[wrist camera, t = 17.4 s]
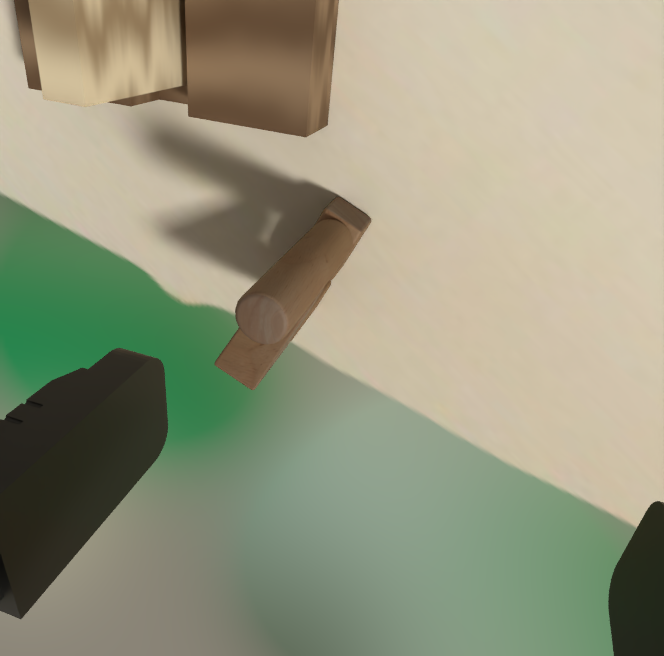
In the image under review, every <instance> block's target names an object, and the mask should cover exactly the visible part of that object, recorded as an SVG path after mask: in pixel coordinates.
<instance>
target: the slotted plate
mask: <svg viewBox="0 0 664 656" xmlns="http://www.w3.org/2000/svg"><path fill="white" fill-rule="evenodd" d="M14 3H15V9H16V15H17V21H18V27H19V33H20V39H21V45H22V51H23V57H24V63H25V69H26V75H27V81H28V87H29V88H30V89H36V90H42V87H41V80H40V74H39V67H38V61H37V54H36V48H35V41H34V35H33V28H32V22H31V15H30V9H29V2H28V0H14ZM338 3H339V0H185V21H186V54H187V85H184V86H179V87H174V88H170V89H165V90H161V91H156V92H151V93H147V94H142V95H138V96H133V97H129V98H124V99H119V100H115V101H110V103H115V104H121V105H127V106H134V105H138V104H142V103H146V102H151V101H155V100H159V99H160V100H166V101H172V102H178V103H183V104H188V116H189V117H194V118H200V119H206V120H211V121H217V122H223V123H228V124H234V125H240V126H245V127H251V128H257V129H262V130H268V131H274V132H279V133H285V134H291V135H296V136H302V137H307V136H309V135H311V134H313V133H315V132H316V131H318V130H320V129H322V128H324V127H325V126H327V125H328V114H329V102H330V91H331V80H332V69H333V58H334V47H335V36H336V25H337V14H338Z"/></svg>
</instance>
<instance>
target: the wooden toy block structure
mask: <svg viewBox="0 0 664 656" xmlns="http://www.w3.org/2000/svg"><path fill="white" fill-rule="evenodd" d="M370 223H371V218H370V217H368V216H367V215H366V214H364V213H363V212H361V211H360V210H358V209H357V208H355V207H354V206H352V205H351V204H349V203H348V202H346V201H345V200H343V199H342V198H340V197H337V198H335V199H334V200H333V201H332V202H331V203H330V204H329V205H328V206H327V207H326V208H324V210H323V212H322V214H321V215H320V217H319V219H318V220H317V222H316V224H315V226H314V227H313V228H312V229H311V230H310V231H309V232H308V233H307V234H305V235H304V236H303V237H302V238H301V239H300V240H299V241H298V242H297V243H296V244H295V245H294V246H293V247H292V248H291V249H290V250H289V251H288V252H287V253H286V254H285V255H284V256H283V257H282V258H281V259H280V260H279V261H278V262H277V263H276V264H275V265H274V266H273V267H272V268H270V269H269V270H268V271H267V272H266V273H265V274H264V275H263V276H262V277H261V278H260V279H259V280H258V281H257V282H256V283H255V284H254V285H253V286H252V287H251V288H250V289H249V290H248V291H247V292H246V293H245V294H244V295H243V296H242V297H241V298H240V299H239V301H238V303H237V306H236V310H235V313H236V321H237V323H238V326H239V329H238V330H237V332H236V333H235V334H234V336H233V337H232V338H231V340H230V342H229V343H228V344H227V346H226V347H225V348H224V350H223V351H222V353H221V354H220V356H219V357H218V358H217V360H216V361H215V365H216V366H217V367H218V368H220V369H221V370H223V371H224V372H226V373H227V374H229V375H230V376H232V377H233V378H235V379H236V380H238V381H239V382H241V383H242V384H244V385H245V386H247V387H249V388H250V389H251V390H254V389H255V388H256V387H257V386H258V384H259V383H260V382H261V380H262V379H263V378H264V376H265V375H266V374H267V372H268V371H269V370H270V368H271V367H272V366H273V364H274V363H275V362H276V360H277V359H278V358H279V356H280V355H281V353H282V352H283V351H284V349H285V348H286V347H287V346H288V344H289V343H290V341H292V339H293V338H294V336H295V335H296V334H297V332H298V331H299V330H300V328H301V327H302V326H303V324H304V323H305V322H306V320H307V319H308V318H309V316H310V315H311V314H312V312H313V311H314V310H315V308H316V307H317V305H318V304H319V302H320V301H321V299H322V298H323V296H324V294H325V293H326V291H327V290H328V288H329V287H330V285H331V280H332V279H333V278H334V277H335V276H336V274H337V273H338V272H339V270H340V269H341V268H342V266H343V265H344V263H345V262H346V260H347V259H348V257H349V256H350V254H351V252H352V251H353V249H354V248H355V246H356V245H357V243H358V242H359V240H360V239H361V237H362V235H363V234H364V232H365V231H366V229H367V228H368V226H369V225H370Z"/></svg>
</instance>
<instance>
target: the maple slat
mask: <svg viewBox="0 0 664 656" xmlns="http://www.w3.org/2000/svg"><path fill="white" fill-rule="evenodd" d="M28 2H29V9H30V15H31V22H32V28H33V35H34V41H35V48H36V54H37V61H38V67H39V74H40V80H41V87H42V93H43V99H45V100H50V101H56V102H61V103H67V104H72V105H78V106H83V107H87V106H92V105H97V104H101V103H106V102H110V101H115V100H119V99H124V98H129V97H133V96H138V95H142V94H147V93H151V92H156V91H161V90H165V89H170V88H174V87H179V86H184V85H187V54H186V21H185V0H28Z"/></svg>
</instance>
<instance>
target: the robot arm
mask: <svg viewBox="0 0 664 656" xmlns="http://www.w3.org/2000/svg"><path fill="white" fill-rule="evenodd" d="M167 432H168V418H167V403H166V389H165V373H164V367H163V363H162V362H161V360H159V359H158V358H153V357H151V356H147V355H143V354H140V353H136V352H133V351H129V350H126V349H122V348H117V349H114V350H112V351H111V352H109V353H108V354H107V355H105V356H104V357H103V358H102V359H100V360H99V361H98V362H97V363H95V364H94V365H93V366H92V367H90V368H89V369H85V368H80V369H78V370H76V371H73V372H71V373H69V374H66V375H64V376H62V377H59V378H57V379H54V380H52V381H51V382H49V383H48V384H46V385H45V386H44V387H42V388H41V389H40V390H39V391H37V392H36V393H35V394H33V395H32V396H31V397H30V398H28V399H27V401H26V403H25V404H20V405H19V406H18V407H16V408H15V409H14V410H12V411H11V412H10V413H8V414H7V415H6V418H5V420H0V611H2V612H5V613H7V614H10V615H12V616H15V617H17V618H19V619H21V618H23V616H24V615H25V614H26V613H27V612H28V611H29V609H30V608H31V607H32V606H33V605H34V603H35V602H36V601H37V600H38V599H39V597H40V596H41V595H42V594H43V593H44V592H45V590H46V589H47V588H48V587H49V585H51V583H52V582H53V581H54V580H55V579H56V577H57V576H58V575H59V574H60V573H61V572H62V570H63V569H64V568H65V567H66V566H67V564H68V563H69V562H70V561H71V560H72V559H73V557H74V556H75V555H76V554H77V553H78V551H79V550H80V549H81V548H82V547H83V546H84V544H85V543H86V542H87V541H88V540H89V539H90V537H91V536H92V535H93V534H94V532H95V531H96V530H97V529H98V528H99V527H100V526H101V524H102V523H103V522H104V521H105V520H106V518H107V517H108V516H109V515H110V514H111V513H112V511H113V510H114V509H115V508H116V507H117V505H118V504H119V503H120V502H121V501H122V500H123V498H124V497H125V496H126V495H127V494H128V492H129V491H130V490H131V489H132V488H133V487H134V485H135V484H136V483H137V481H139V479H140V478H141V477H142V476H143V475H144V474H145V472H146V471H147V470H148V469H149V468H150V467H151V465H152V464H153V463H154V462H155V461H156V459H157V458H158V456H159V454H160V453H161V451H162V449H163V446H164V444H165V441H166V437H167ZM608 602H609V617H610V626H611V634H612V642H613V651H614V656H664V503H663V502H660V501H656V502H654V503H653V504H651V505H650V507H649V508H648V510H647V511H646V513H645V515H644V517H643V518H642V520H641V522H640V524H639V525H638V527H637V529H636V531H635V533H634V534H633V536H632V538H631V540H630V542H629V543H628V545H627V547H626V549H625V551H624V552H623V554H622V556H621V558H620V560H619V561H618V563H617V565H616V567H615V569H614V572H613V575H612V579H611V583H610V589H609V601H608Z"/></svg>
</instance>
